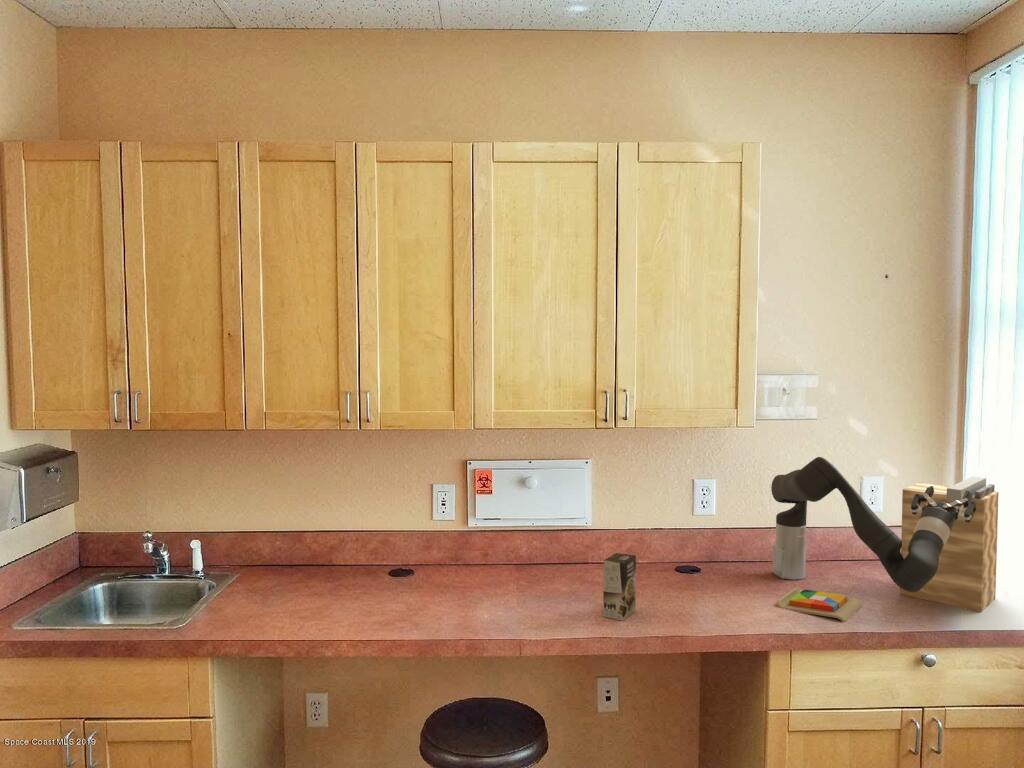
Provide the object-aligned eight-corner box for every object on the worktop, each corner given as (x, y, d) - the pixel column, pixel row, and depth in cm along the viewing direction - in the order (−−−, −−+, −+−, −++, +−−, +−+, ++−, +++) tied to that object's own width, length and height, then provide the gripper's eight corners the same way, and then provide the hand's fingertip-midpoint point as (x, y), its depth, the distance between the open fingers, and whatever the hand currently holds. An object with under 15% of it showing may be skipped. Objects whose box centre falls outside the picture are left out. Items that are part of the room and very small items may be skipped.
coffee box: (623, 621, 193) (624, 563, 192) (602, 616, 197) (602, 559, 196) (636, 611, 201) (636, 555, 200) (615, 606, 204) (615, 551, 204)
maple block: (981, 612, 199) (984, 492, 198) (900, 593, 214) (902, 482, 213) (995, 598, 210) (998, 485, 209) (917, 581, 226) (920, 476, 224)
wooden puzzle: (796, 592, 217) (797, 581, 217) (863, 607, 205) (863, 595, 205) (775, 608, 204) (775, 596, 204) (844, 624, 192) (845, 612, 192)
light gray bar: (960, 502, 193) (961, 489, 193) (946, 500, 196) (946, 488, 196) (985, 489, 211) (986, 478, 211) (972, 488, 214) (972, 476, 214)
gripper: (963, 522, 176) (979, 482, 185) (900, 513, 186) (918, 476, 195) (966, 545, 179) (982, 505, 188) (905, 535, 189) (922, 497, 198)
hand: (949, 490), depth 192 cm, fingers open, 8 cm apart
